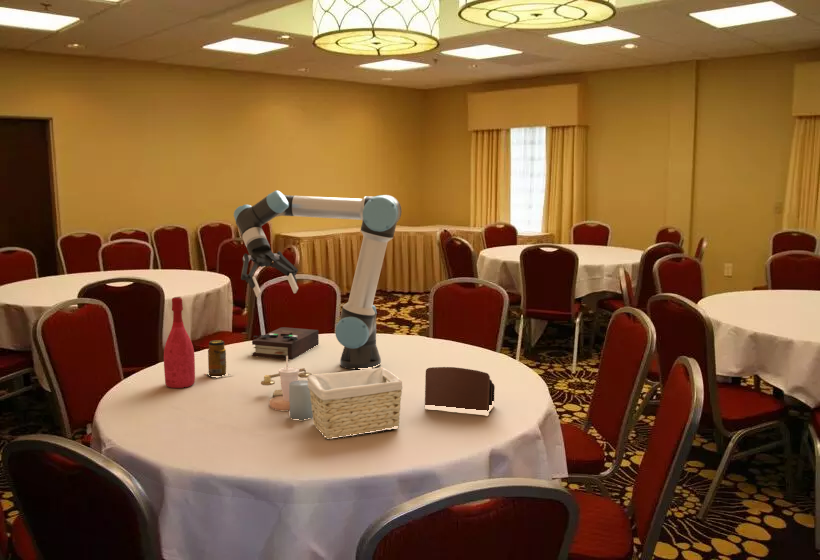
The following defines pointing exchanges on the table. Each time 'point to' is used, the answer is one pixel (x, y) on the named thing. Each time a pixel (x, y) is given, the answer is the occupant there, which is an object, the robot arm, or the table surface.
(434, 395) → the toaster
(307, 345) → the dark electronic device
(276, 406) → the dish
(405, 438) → the table surface
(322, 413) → the storage basket
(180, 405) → the table surface
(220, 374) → the condiment
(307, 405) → the grey domed cylinder
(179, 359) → the wine bottle
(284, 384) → the smoothie
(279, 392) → the balance
